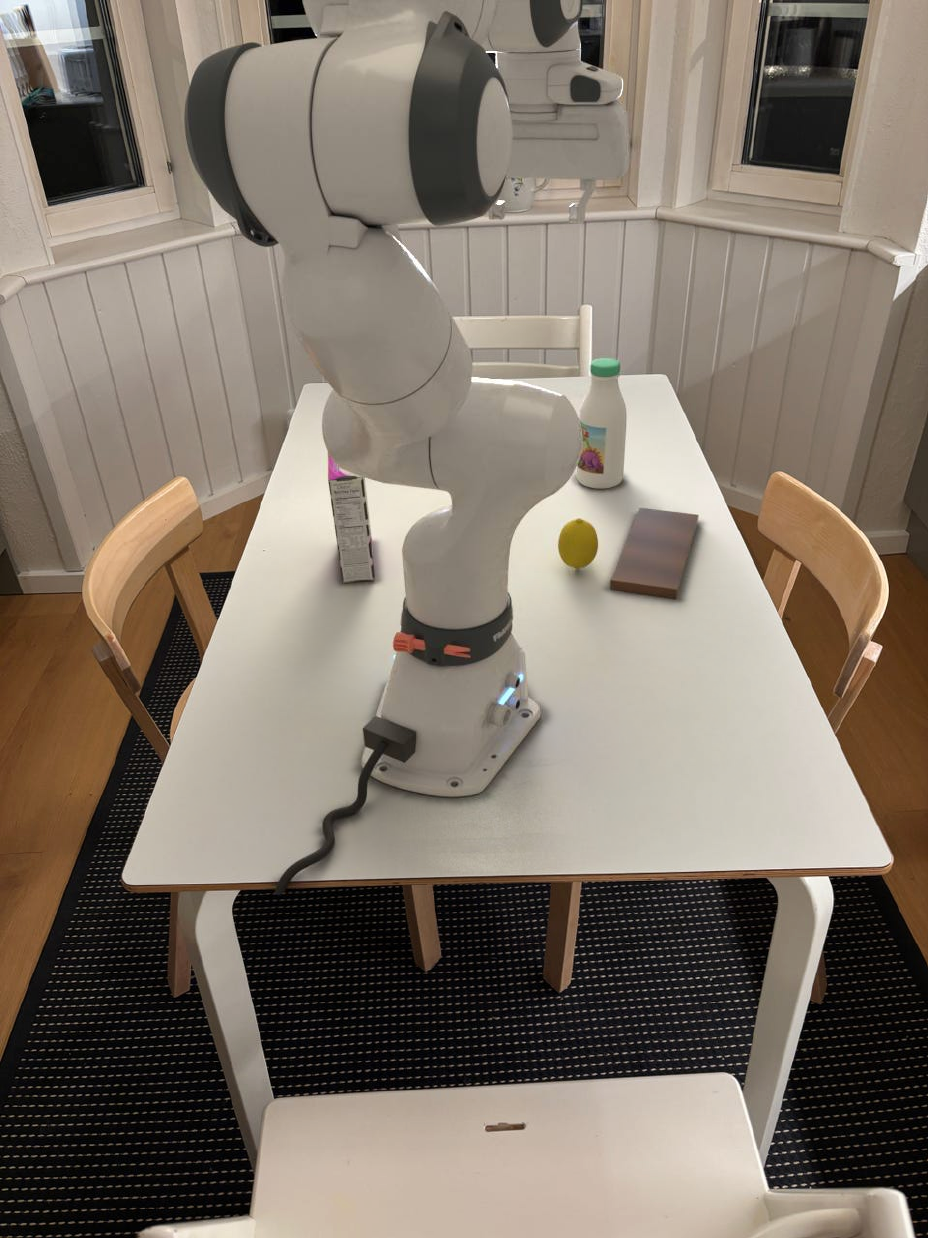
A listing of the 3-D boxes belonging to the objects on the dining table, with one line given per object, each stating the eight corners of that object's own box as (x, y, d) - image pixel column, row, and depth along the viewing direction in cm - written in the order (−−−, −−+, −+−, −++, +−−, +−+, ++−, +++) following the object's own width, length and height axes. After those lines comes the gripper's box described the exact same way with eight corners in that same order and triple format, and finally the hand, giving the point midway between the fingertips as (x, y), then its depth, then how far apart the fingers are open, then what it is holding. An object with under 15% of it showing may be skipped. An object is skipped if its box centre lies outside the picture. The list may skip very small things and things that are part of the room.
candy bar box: (339, 545, 143) (326, 443, 133) (372, 542, 143) (362, 441, 134) (340, 584, 133) (326, 478, 124) (375, 581, 134) (365, 475, 125)
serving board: (676, 599, 128) (677, 589, 127) (609, 589, 130) (610, 579, 129) (697, 523, 145) (698, 514, 144) (638, 516, 147) (639, 507, 146)
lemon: (594, 580, 132) (597, 530, 128) (555, 577, 133) (556, 527, 129) (598, 560, 137) (601, 510, 132) (559, 557, 138) (561, 508, 133)
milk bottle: (610, 466, 162) (617, 350, 151) (631, 485, 156) (639, 366, 145) (568, 474, 160) (572, 357, 149) (587, 493, 154) (593, 373, 143)
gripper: (435, 84, 101) (441, 222, 109) (626, 84, 96) (618, 229, 103) (455, 79, 106) (459, 211, 114) (637, 78, 100) (629, 217, 108)
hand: (536, 220), depth 109 cm, fingers open, 8 cm apart
